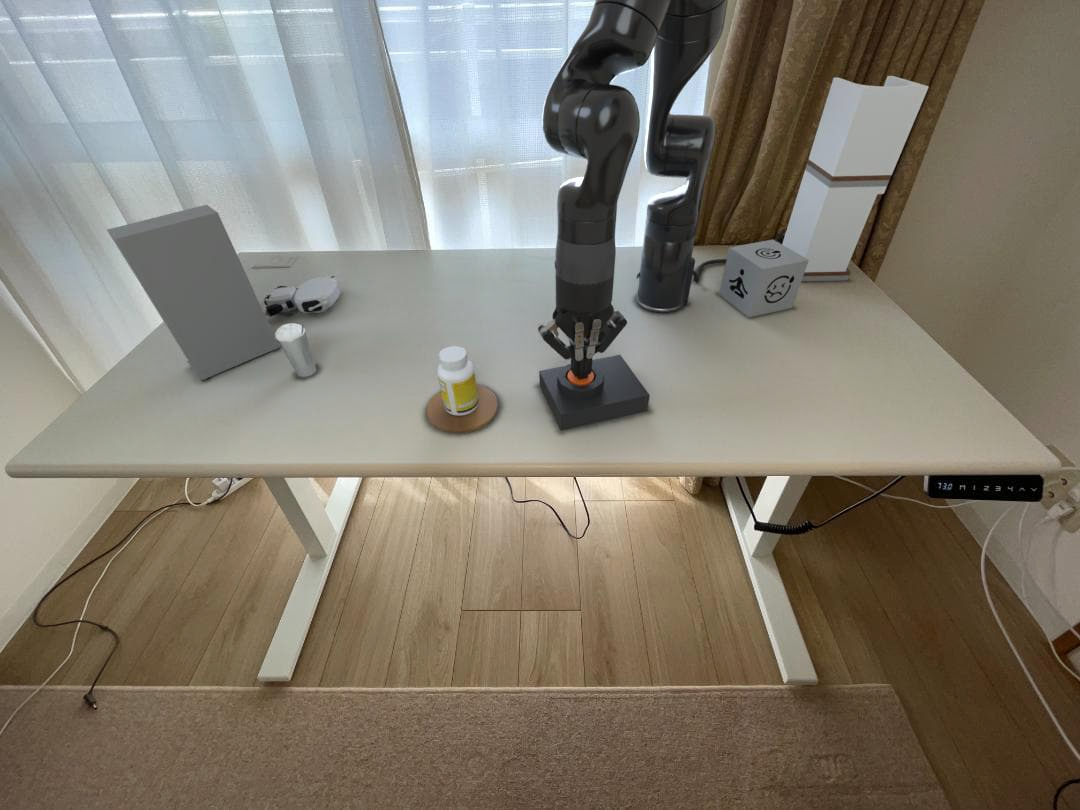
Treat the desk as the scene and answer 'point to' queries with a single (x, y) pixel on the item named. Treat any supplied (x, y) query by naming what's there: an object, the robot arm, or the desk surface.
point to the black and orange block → (594, 393)
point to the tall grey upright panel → (197, 287)
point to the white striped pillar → (849, 170)
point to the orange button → (581, 382)
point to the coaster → (464, 422)
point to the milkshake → (296, 348)
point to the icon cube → (762, 277)
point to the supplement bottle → (457, 381)
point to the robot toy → (303, 297)
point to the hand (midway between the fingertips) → (581, 375)
